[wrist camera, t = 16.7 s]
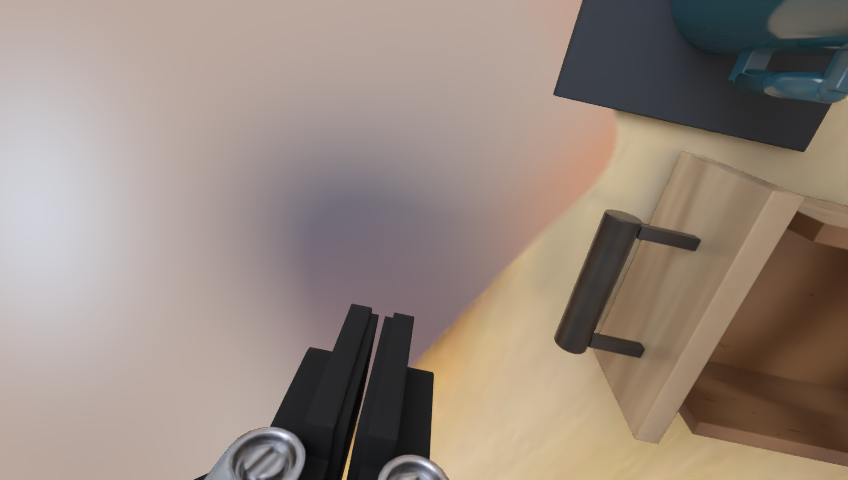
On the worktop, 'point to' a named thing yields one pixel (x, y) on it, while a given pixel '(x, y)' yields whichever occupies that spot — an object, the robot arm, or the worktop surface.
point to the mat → (677, 76)
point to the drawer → (723, 313)
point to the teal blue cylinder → (772, 42)
